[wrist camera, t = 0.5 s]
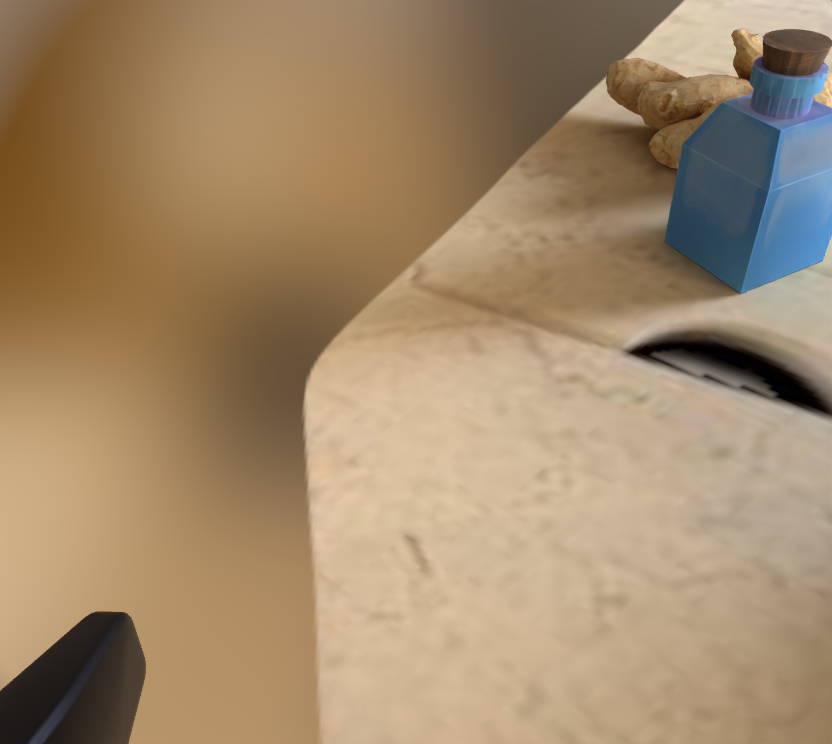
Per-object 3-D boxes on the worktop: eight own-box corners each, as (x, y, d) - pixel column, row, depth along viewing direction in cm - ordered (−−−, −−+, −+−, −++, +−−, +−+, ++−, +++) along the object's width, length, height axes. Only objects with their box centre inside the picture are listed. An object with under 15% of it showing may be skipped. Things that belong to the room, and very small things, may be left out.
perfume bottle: (664, 241, 48) (703, 34, 40) (742, 213, 50) (794, 11, 42) (740, 293, 43) (801, 74, 35) (823, 260, 45) (897, 45, 37)
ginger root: (912, 189, 48) (925, 57, 43) (643, 246, 52) (627, 131, 47) (826, 93, 60) (828, -17, 55) (612, 145, 64) (598, 45, 59)
